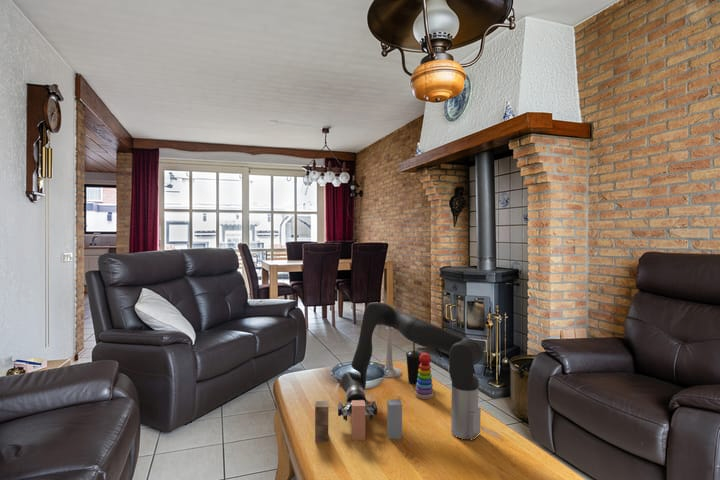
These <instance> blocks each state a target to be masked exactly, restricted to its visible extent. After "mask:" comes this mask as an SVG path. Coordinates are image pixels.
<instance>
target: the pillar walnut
mask: <svg viewBox="0 0 720 480" xmlns="http://www.w3.org/2000/svg"><path fill="white" fill-rule="evenodd" d="M314 403H315V405H314V411H315V412H314V431H315V432H314V442H315V443H317V442H319V443H320V442H329V401H328V400H320V401H318V400H317V401H315V402H314Z"/></svg>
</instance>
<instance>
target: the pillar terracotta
mask: <svg viewBox="0 0 720 480" xmlns="http://www.w3.org/2000/svg"><path fill="white" fill-rule="evenodd" d="M351 440H352V441H366V415H365V401H364V400H352V414H351Z"/></svg>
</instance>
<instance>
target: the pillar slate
mask: <svg viewBox="0 0 720 480" xmlns="http://www.w3.org/2000/svg"><path fill="white" fill-rule="evenodd" d="M386 402H387V403H386V404H387V405H386V406H387V407H386V409H387V411H386V416H387V417H386V418H387V419H386V428H387V429H386V433H387V437H388V440H402V437H403V403H402V401H401V399H399V398H396V399H395V398H393V399H391V398H390V399H389V398H388V399H387V401H386Z"/></svg>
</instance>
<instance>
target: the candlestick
mask: <svg viewBox="0 0 720 480" xmlns="http://www.w3.org/2000/svg"><path fill="white" fill-rule="evenodd" d="M385 329H386V332H387V335H386V351H385V352H386V353H385V354H386V355H385V366H384V367H385V368H387V369H389V370H390V374H389V375H388V376H387V377H386V378H385V379H395V378H399V377H402V375H403V372H402V370H401V369H400V368H398V367H395V366H394V365H393V363H394V362H393V346H392V345H393V344H392V333H393V329H394V328H392V327H389V326H386V327H385Z"/></svg>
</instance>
